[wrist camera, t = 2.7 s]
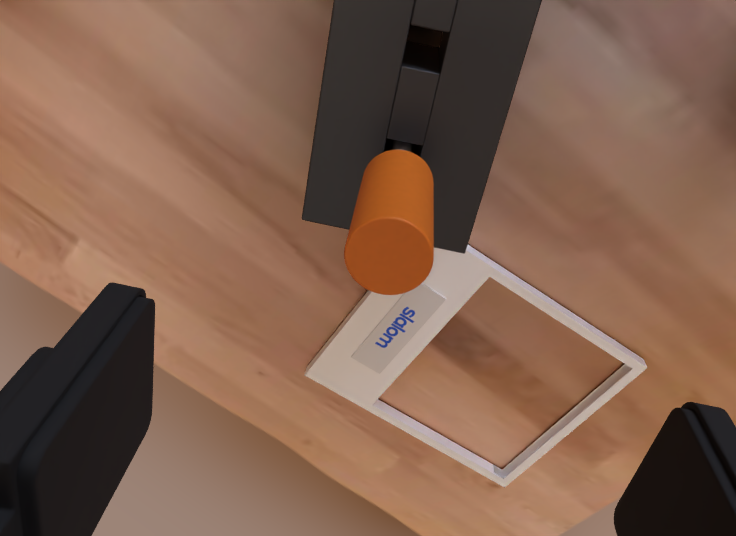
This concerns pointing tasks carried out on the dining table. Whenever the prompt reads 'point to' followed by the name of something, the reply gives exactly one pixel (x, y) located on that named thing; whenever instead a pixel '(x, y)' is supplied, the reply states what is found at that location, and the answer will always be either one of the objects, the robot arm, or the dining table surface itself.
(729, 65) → the dining table surface
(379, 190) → the orange tool handle
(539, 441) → the photo frame
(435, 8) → the rack
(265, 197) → the dining table surface
